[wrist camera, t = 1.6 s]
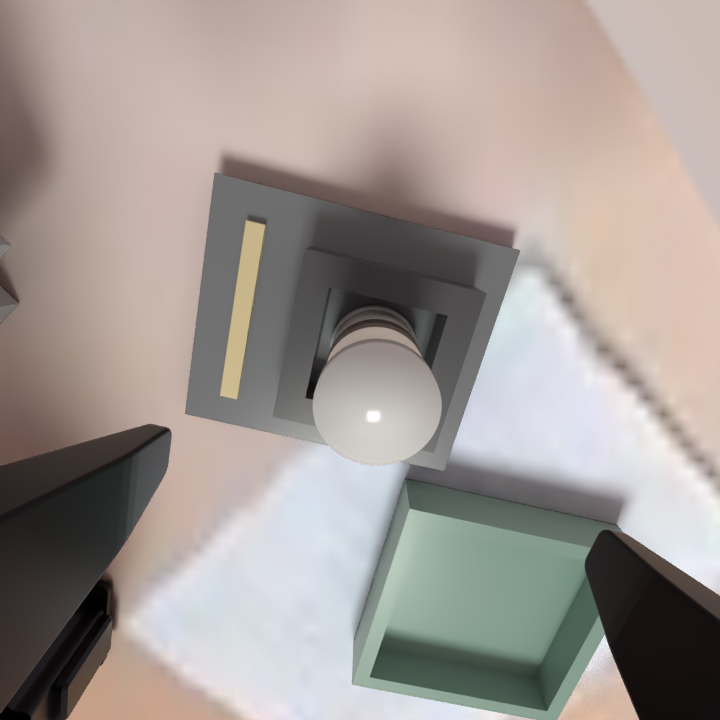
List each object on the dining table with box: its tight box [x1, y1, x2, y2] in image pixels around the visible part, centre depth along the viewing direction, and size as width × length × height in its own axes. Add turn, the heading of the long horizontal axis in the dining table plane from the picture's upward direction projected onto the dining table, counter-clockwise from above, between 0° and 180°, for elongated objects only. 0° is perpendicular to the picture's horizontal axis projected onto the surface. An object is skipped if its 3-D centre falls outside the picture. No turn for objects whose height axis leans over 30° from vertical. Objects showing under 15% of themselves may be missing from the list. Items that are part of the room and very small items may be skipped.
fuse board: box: [185, 173, 520, 471], centre depth 18 cm, size 13×11×3 cm
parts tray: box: [352, 479, 622, 720], centre depth 23 cm, size 12×12×2 cm
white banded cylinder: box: [313, 304, 442, 465], centre depth 16 cm, size 4×4×7 cm
